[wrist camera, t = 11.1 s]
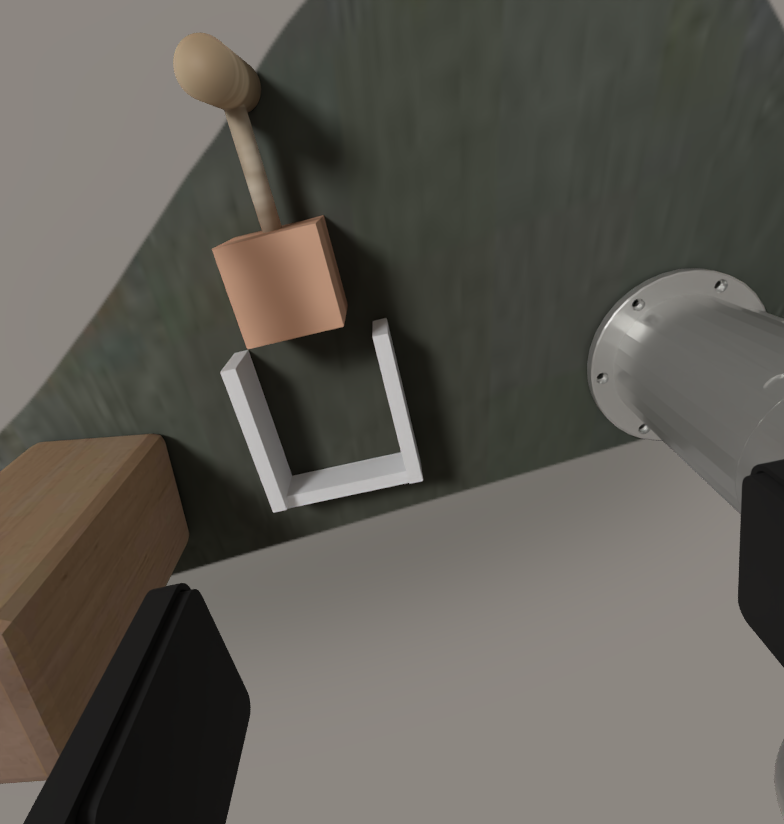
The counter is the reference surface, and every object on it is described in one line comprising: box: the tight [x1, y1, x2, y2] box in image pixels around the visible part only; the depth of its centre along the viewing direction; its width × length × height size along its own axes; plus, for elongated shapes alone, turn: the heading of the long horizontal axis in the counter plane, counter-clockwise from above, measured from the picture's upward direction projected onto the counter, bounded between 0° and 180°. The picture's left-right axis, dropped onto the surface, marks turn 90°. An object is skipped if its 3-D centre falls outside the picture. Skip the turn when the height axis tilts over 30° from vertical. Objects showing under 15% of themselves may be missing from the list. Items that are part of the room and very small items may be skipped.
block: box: [173, 33, 348, 349], centre depth 32 cm, size 6×15×7 cm, turn 13°
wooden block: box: [0, 434, 189, 784], centre depth 34 cm, size 10×10×20 cm
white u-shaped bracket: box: [220, 318, 423, 513], centre depth 39 cm, size 11×12×4 cm
